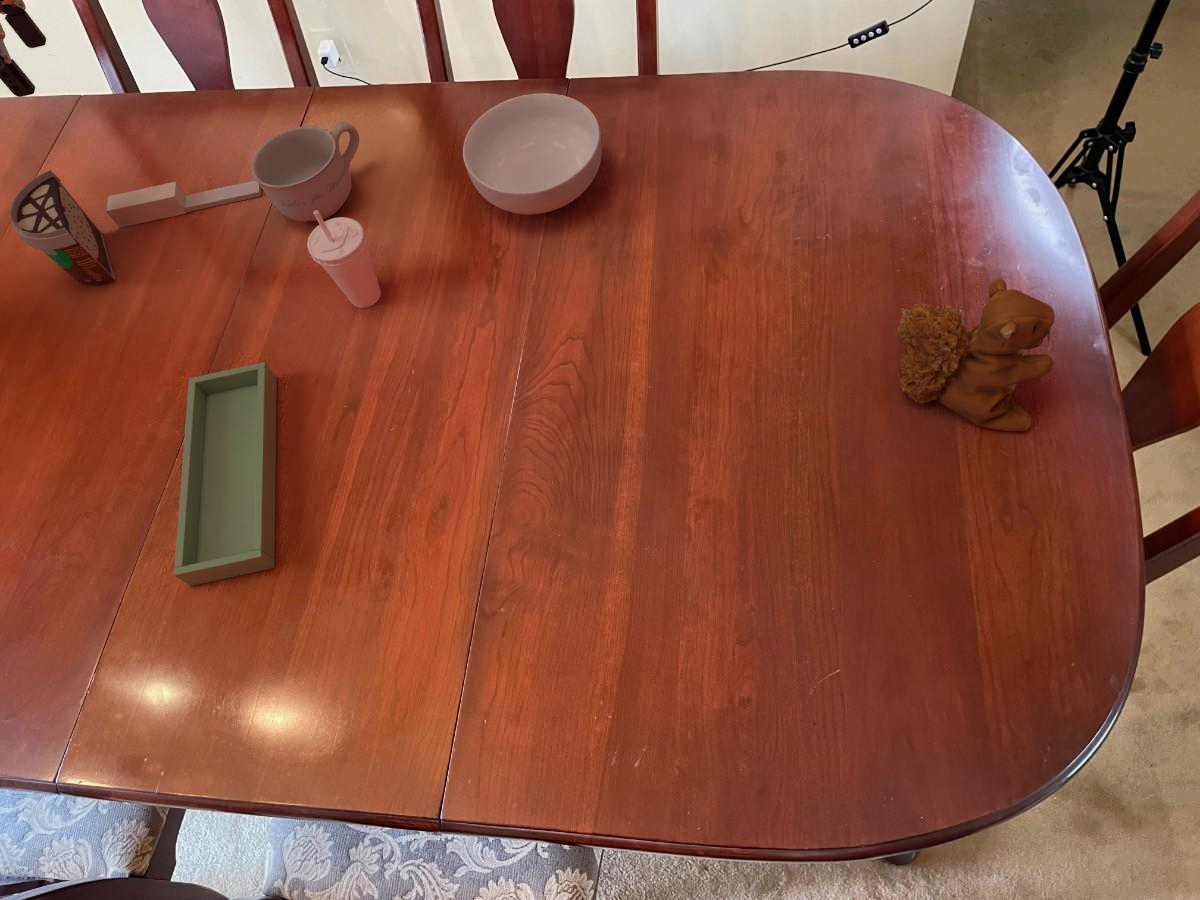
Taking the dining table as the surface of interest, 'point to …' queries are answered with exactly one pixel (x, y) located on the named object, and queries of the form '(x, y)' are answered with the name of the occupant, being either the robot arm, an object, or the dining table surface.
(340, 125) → the teacup
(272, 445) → the tray
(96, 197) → the dining table surface
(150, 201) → the grey block with handle
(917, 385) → the stuffed squirrel
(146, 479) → the dining table surface
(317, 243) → the smoothie
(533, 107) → the cereal bowl
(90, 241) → the food container
